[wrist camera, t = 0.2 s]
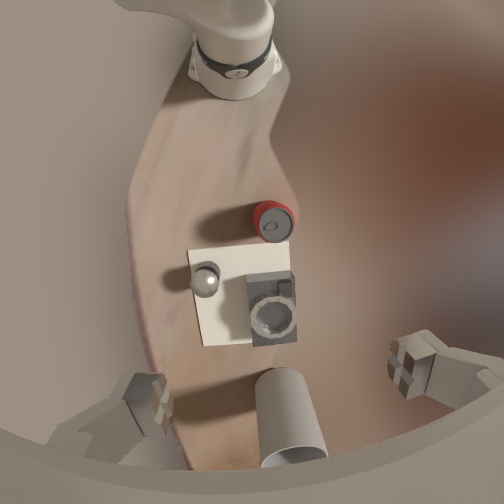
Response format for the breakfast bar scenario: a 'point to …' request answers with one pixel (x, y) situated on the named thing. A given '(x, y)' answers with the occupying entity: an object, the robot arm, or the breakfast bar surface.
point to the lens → (205, 279)
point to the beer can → (273, 221)
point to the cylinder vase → (286, 420)
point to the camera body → (272, 307)
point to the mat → (234, 288)
